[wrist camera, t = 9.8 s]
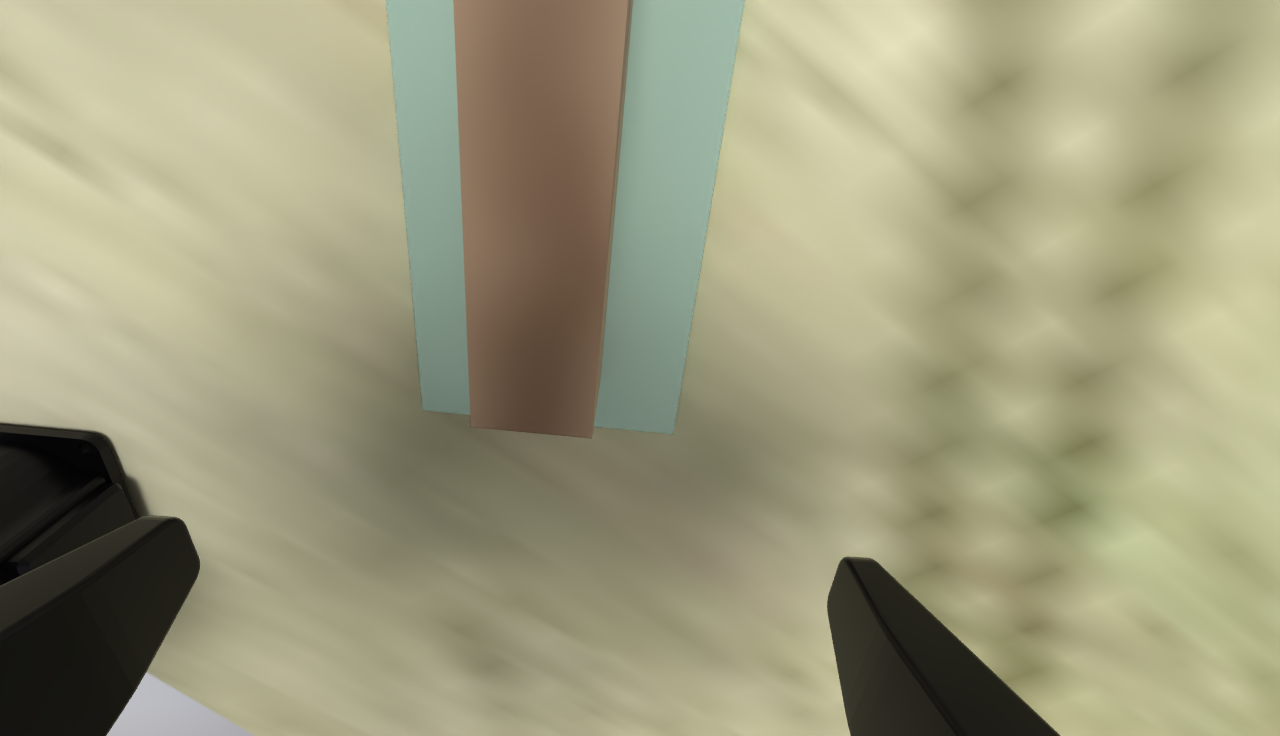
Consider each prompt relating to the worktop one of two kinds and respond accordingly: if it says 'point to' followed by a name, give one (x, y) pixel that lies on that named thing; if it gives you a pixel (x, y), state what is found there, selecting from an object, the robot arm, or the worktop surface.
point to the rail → (538, 203)
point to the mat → (644, 213)
